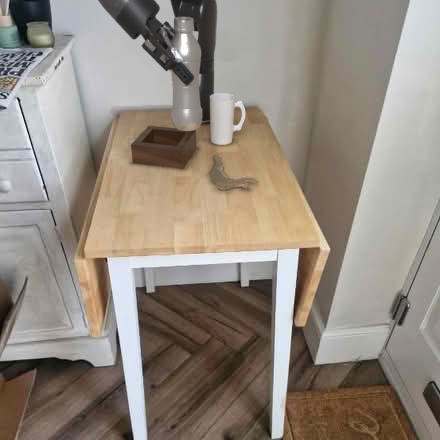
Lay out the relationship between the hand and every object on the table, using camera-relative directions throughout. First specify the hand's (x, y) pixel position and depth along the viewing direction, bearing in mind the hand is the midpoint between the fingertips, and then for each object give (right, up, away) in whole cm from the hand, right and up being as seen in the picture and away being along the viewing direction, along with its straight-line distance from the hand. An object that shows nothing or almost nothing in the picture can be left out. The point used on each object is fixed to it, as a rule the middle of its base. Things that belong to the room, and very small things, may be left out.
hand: (193, 76), depth 84 cm
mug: (+7, +1, +39) cm, 40 cm away
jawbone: (+9, -13, +23) cm, 28 cm away
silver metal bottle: (-2, -8, +7) cm, 11 cm away
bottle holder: (-9, -5, +31) cm, 33 cm away
